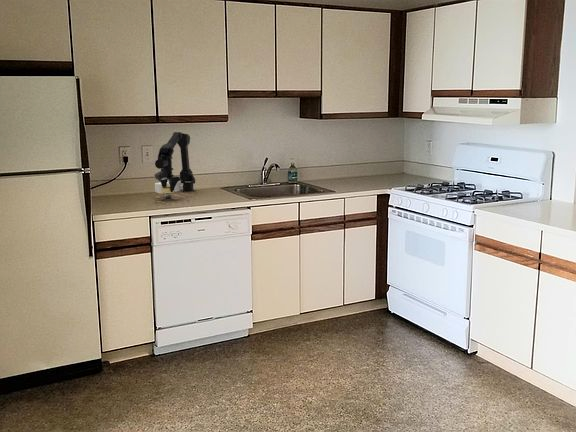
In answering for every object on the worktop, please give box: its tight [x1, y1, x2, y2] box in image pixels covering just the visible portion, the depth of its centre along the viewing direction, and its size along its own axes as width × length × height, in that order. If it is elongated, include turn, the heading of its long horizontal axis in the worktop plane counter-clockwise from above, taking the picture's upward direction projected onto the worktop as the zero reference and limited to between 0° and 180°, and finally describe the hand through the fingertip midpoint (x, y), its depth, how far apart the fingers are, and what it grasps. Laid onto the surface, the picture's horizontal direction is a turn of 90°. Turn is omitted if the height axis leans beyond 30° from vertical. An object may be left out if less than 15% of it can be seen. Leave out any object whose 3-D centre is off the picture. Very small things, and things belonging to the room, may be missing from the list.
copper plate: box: [156, 192, 194, 201], centre depth 372 cm, size 20×16×1 cm
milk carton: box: [154, 180, 183, 194], centre depth 391 cm, size 7×7×19 cm
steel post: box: [164, 193, 172, 200], centre depth 365 cm, size 4×4×5 cm
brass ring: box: [162, 187, 175, 194], centre depth 364 cm, size 7×7×3 cm
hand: (168, 191), depth 364 cm, fingers closed on brass ring, 7 cm apart
